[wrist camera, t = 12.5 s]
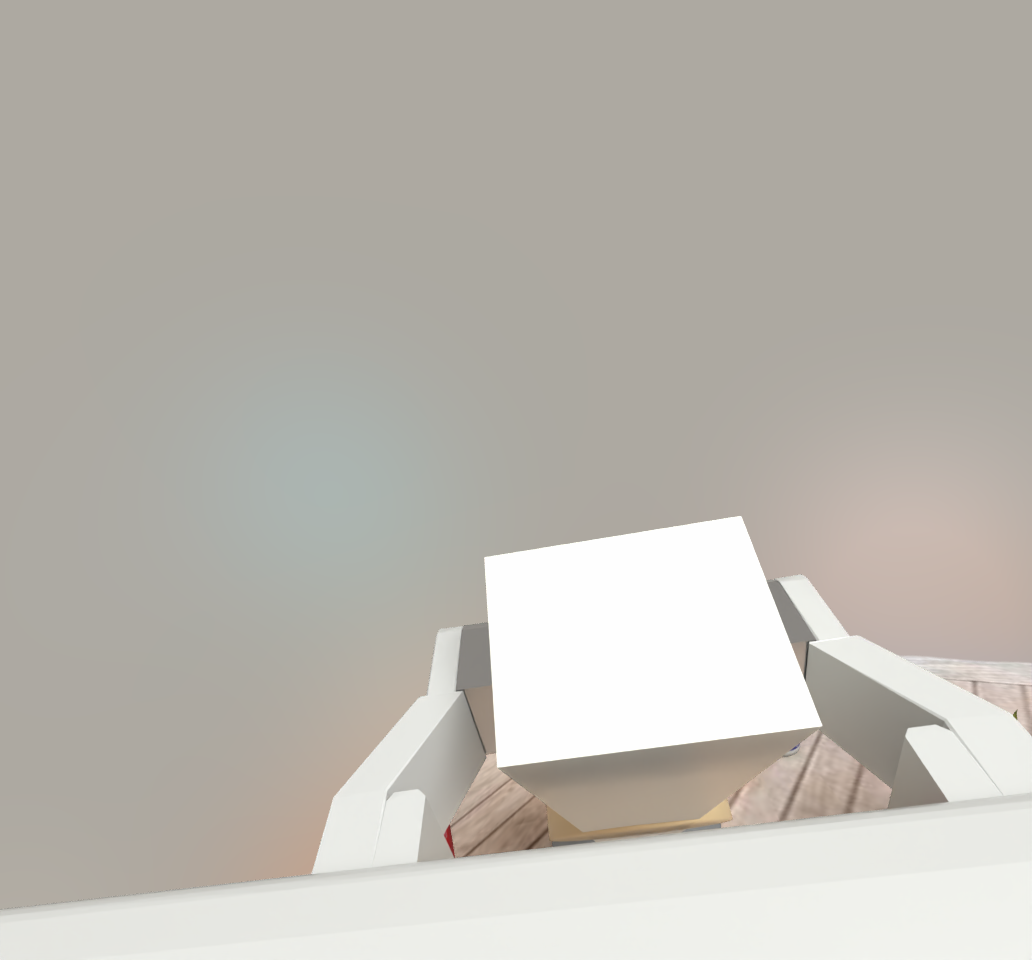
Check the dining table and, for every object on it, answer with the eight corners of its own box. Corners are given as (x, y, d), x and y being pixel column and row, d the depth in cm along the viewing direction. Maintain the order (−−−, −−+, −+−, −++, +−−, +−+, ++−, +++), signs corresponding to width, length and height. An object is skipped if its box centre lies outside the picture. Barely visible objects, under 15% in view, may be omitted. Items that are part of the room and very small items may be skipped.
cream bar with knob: (953, 709, 7) (837, 488, 8) (383, 781, 7) (393, 561, 9) (713, 829, 26) (694, 754, 28) (565, 846, 26) (556, 771, 28)
